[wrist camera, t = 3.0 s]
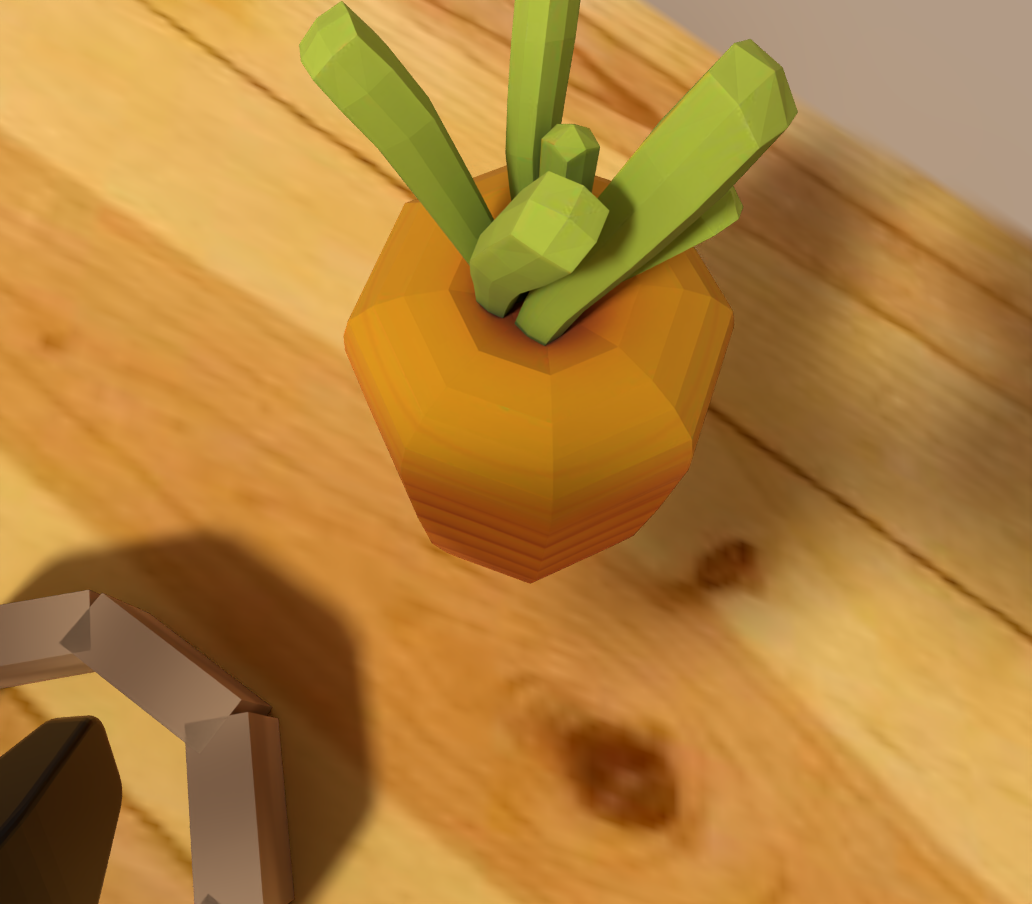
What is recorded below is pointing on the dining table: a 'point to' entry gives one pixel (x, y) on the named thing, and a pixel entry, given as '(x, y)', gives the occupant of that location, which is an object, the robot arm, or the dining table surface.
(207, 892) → the bead ring
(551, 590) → the dining table surface
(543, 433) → the carrot
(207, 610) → the dining table surface
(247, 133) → the dining table surface
